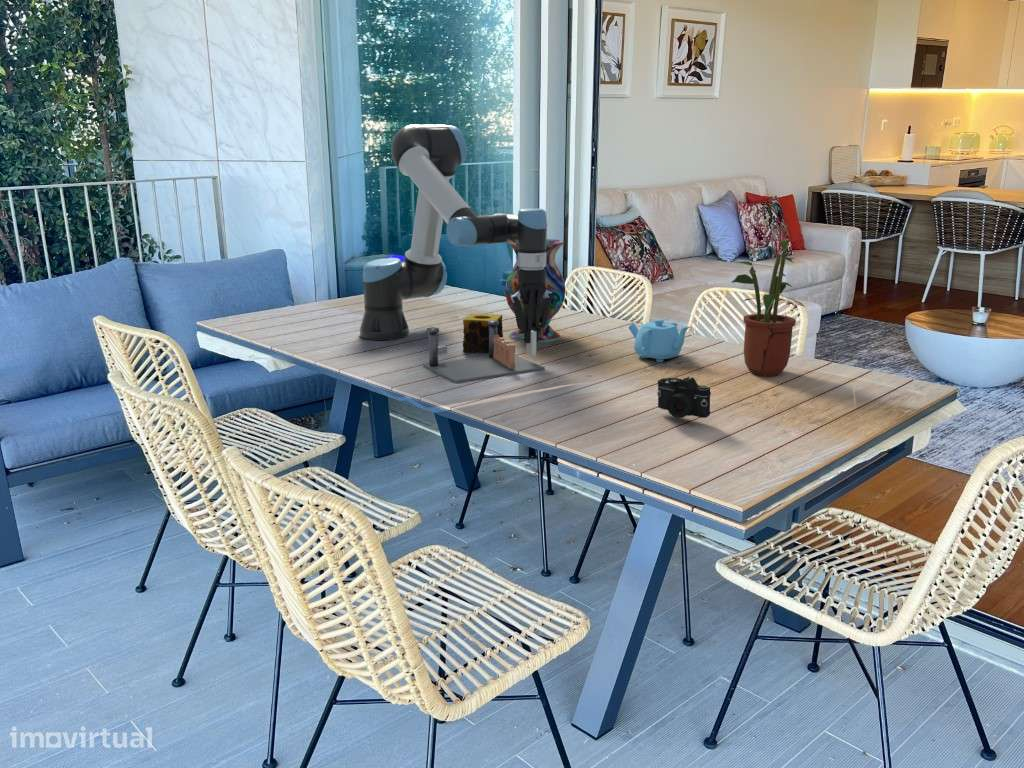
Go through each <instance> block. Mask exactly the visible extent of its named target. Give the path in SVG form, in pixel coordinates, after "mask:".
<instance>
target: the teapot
mask: <svg viewBox="0 0 1024 768" xmlns="http://www.w3.org/2000/svg"><path fill="white" fill-rule="evenodd" d="M664 321H665V320H664V319H661V318H656V319H654V321H651V322H647V323H643V324H642V325H641V326H640V328H638V327H637V325H636V324H635V323H633V324H632V323H631V324H630V325H629V326H628V330H629V331H630V333H631V334H632V335H633V338H635V339H634V344H633V349H634V351H635V353H636V354H637V355H638V356H640V357H641V358H640V359H642V358H647V359H648V358H650V359H655V362H656V361H657V363H664V362H665V361H664V360H668V359H672V358H675V357H677V356H678V355H679V354H680V353H681V352H682V347H683V345H684V344H685V338H686V337H685V336H686V332H687V330H689V329H690V328H691V326H684V327H682V328H681V329H680V331H679V330H678V322H671V323H666V322H664ZM663 361H664V362H663Z"/></svg>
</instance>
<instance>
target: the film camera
mask: <svg viewBox="0 0 1024 768" xmlns="http://www.w3.org/2000/svg"><path fill="white" fill-rule="evenodd" d="M711 394H712V393H711V387H709V386H707V385H703V384H702V385H699V384H698V383H697V381H696V379H695V377H693V376H691V377H690V376H689V375H688V376H686V377H684V378H679V377H669V378H668V377H665V378H664V377H663V378H660V379H659V380H658V381H657V391H656V395H657V398H658V399H657V407H658V408H659V409H661V410H665V411H667V412H668V413H669V415H671V417H674V418H675V419H683V418H685V417H688V416H689V417H690V416H693V417H697V418H701V419H704V418H705V419H707V418H708V417H710V415H711Z"/></svg>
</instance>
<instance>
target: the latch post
mask: <svg viewBox="0 0 1024 768" xmlns="http://www.w3.org/2000/svg"><path fill="white" fill-rule="evenodd" d="M439 332H440V328H439V327H435V326H434V327H433V326H431V327H428V328H426V333H428V361H429V362H428V364H429V366H431V367H436V366H438V362H439V355H447V354H448V347H447V346H446V345H445V344H444V345H439V344H438V343H439V339H438V338H439V336H438V333H439Z"/></svg>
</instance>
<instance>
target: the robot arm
mask: <svg viewBox="0 0 1024 768" xmlns="http://www.w3.org/2000/svg"><path fill="white" fill-rule="evenodd" d="M390 146H391V148H390V149H391V150H390V155H391V158H392V161H393V163H394V165H395V166H396V168H397V169H398V171H399V172H400V173H401V175H403V176H406V177H409V178H410V180H411V181H412V183H414V185H415V187H417V189H418V193H417V200H416V207H415V213H414V221H413V230H412V238H411V244H410V248H409V249H408V250H406V251H405V253H404V256H405V258H404V262H401V260H400V259H398V258H387V257H385V258H378V259H375V260H370V261H369V262H367V263H365V264H364V266H363V268H362V269H363V271H362V283H363V301H364V313H363V315H362V320H361V324H360V327H359V336H360V337H361V338H362V339H366V340H370V341H371V340H373V341H390V340H400V339H404V338H407V337H408V336H409V335H410V328H409V327H410V326H409V325H408V321H407V319H406V316H405V313H404V311H403V308H404V307H403V301H404V300H410V299H419V298H420V299H421V298H429V297H433V296H436V295H438V294H440V293H441V292H442V291H443V290H444V289H445V286H446V284H447V279H448V272H447V271H446V270H447V267H446V264H445V263H444V261H443V258H442V255H440V254H439V249H440V242H441V235H442V229H443V224H444V223H443V222H445V223H446V224H447V225H446V236H447V237H448V241H449V243H450V245H451V244H452V246H455V247H473V246H481V245H491V244H492V245H493V244H495V245H496V244H503V243H504V244H505V243H508V244H509V243H517V244H518V266H519V267H520V268H519V270H518V283H519V286H518V288H517V292H516V293H515V294H514V295H510V297H509V298H510V300H511V302H512V303H513V308H514V312H515V314H514V316H515V321H516V325H517V329H521V330H524V342H523V343H525V344H526V345H525V347H526V348H525V349H526V350H525V351H526V352H525V353H526V355H529V356H537V343H536V342H538V340H539V331H541V328H544V327H545V325H546V320H547V316H548V311H549V306H550V301H551V299H552V298H553V296H554V293H552V292H549V291H548V290H546V286H545V282H546V270H545V269H544V267H545V266H546V239H547V236H548V235H547V234H548V230H547V229H548V222H547V212H546V211H545V209H543V208H534V207H533V208H520V209H519V210H518V212H517V215H516V214H512V213H511V214H510V213H509V214H508V213H505V212H503V213H500V212H499V213H494V214H492V215H490V214H489V215H476V213H475V212H474V210H472V209H471V208H472V207H470V206H469V205H468V203H467V202H466V201H465V200H464V199H463V198H462V197H461V195H460V194H459V192H458V191H457V190H456V189H455V188H454V186H453V185H452V184H451V183H450V179H452V178H453V177H455V176H456V170H457V167H460V166H462V165H463V164H464V163H465V161H466V159H467V154H468V147H467V142H466V139H465V136H464V134H463V132H462V131H461V130H460V129H459V128H458V127H457V126H454V125H448V124H444V123H443V124H409V125H408V124H407V125H406V126H404V127H401V128H400V129H399V130H398V131H397V132H396V133H395V135H394V136H393V139H392V141H391V145H390ZM520 297H521V299H522V304H523V310H522V306H521V302H520V300H521V299H520ZM542 297H543V298H542ZM541 298H542V302H541ZM540 306H541V307H540Z"/></svg>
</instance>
